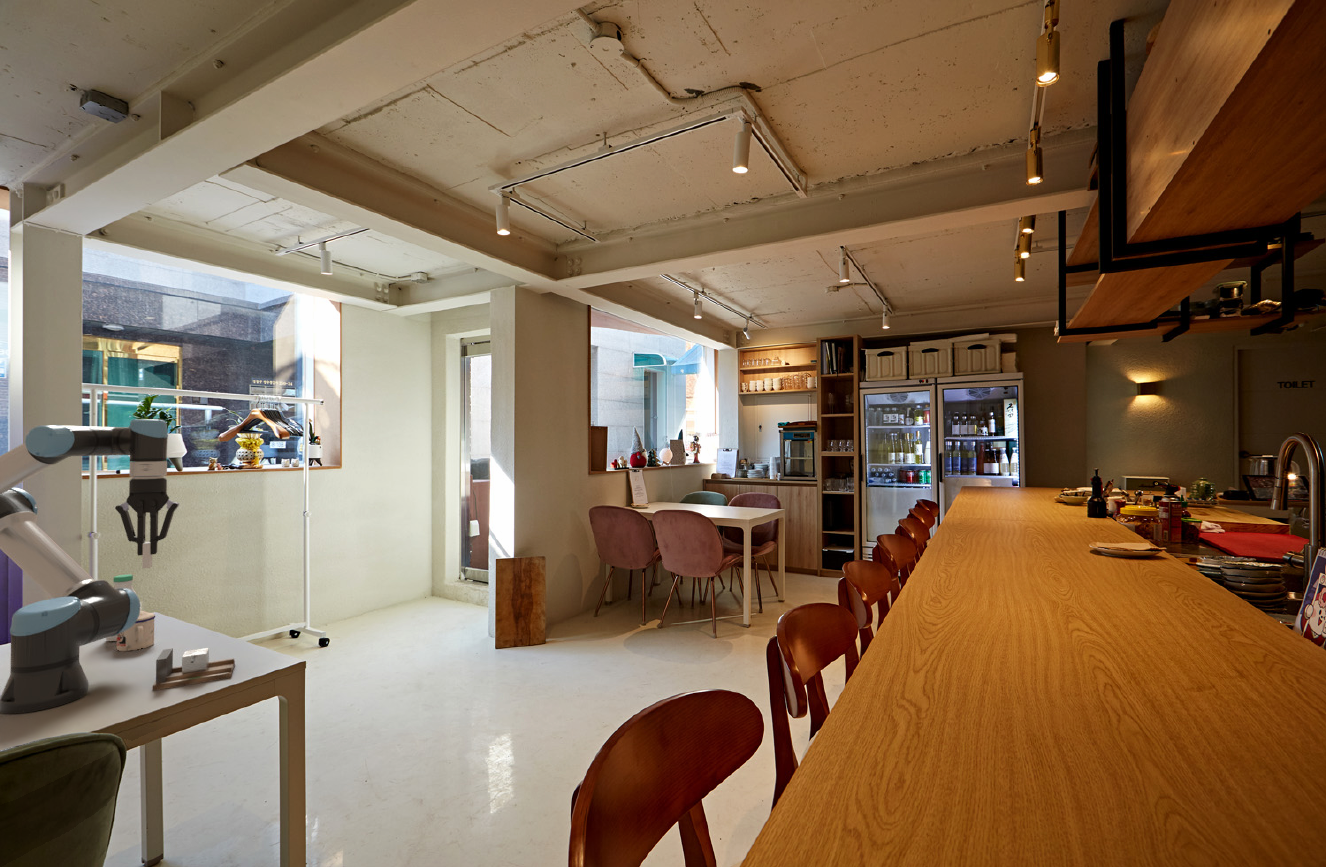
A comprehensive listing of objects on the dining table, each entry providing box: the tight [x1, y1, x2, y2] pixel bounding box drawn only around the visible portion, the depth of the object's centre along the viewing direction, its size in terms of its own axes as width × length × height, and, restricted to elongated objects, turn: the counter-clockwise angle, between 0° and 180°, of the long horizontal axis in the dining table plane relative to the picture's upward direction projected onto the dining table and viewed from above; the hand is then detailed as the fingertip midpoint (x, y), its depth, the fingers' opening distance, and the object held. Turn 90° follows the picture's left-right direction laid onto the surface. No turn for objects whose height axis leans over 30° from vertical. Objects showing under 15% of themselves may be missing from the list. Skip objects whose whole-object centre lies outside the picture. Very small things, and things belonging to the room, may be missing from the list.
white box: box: [181, 647, 210, 674], centre depth 158 cm, size 5×9×5 cm, turn 31°
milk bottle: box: [105, 574, 138, 642], centre depth 192 cm, size 8×8×20 cm
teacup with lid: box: [116, 610, 156, 652], centre depth 183 cm, size 12×9×12 cm
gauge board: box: [151, 648, 236, 691], centre depth 160 cm, size 16×11×7 cm
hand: (147, 567), depth 158 cm, fingers closed
